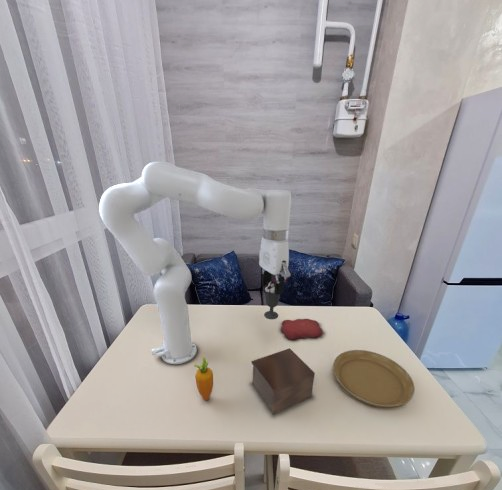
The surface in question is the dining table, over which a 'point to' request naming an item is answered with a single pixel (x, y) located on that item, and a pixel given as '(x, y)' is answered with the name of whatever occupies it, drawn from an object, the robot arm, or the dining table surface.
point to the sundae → (271, 299)
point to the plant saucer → (373, 378)
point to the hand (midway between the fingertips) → (272, 288)
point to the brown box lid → (282, 369)
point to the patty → (301, 329)
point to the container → (283, 393)
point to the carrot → (204, 380)
